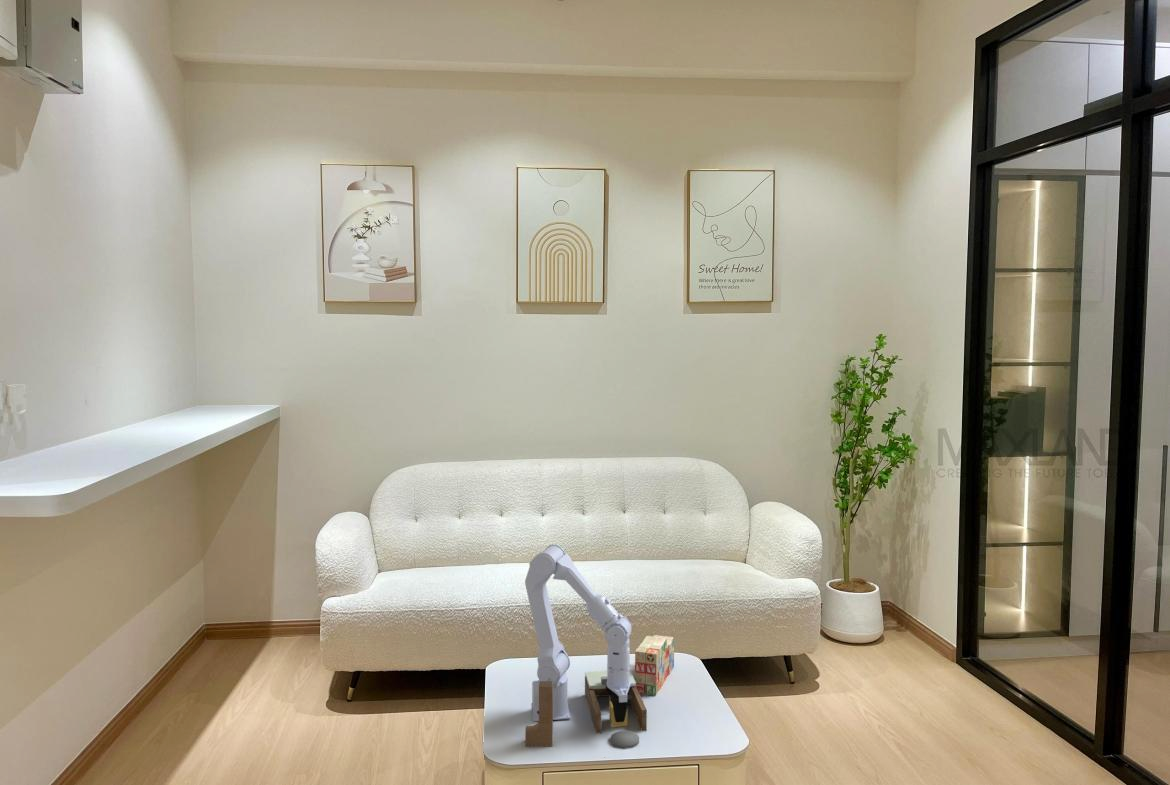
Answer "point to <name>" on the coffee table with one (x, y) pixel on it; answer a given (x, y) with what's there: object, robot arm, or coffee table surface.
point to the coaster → (624, 739)
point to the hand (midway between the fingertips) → (618, 717)
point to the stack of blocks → (653, 663)
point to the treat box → (592, 693)
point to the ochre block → (612, 717)
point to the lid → (600, 679)
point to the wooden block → (542, 718)
